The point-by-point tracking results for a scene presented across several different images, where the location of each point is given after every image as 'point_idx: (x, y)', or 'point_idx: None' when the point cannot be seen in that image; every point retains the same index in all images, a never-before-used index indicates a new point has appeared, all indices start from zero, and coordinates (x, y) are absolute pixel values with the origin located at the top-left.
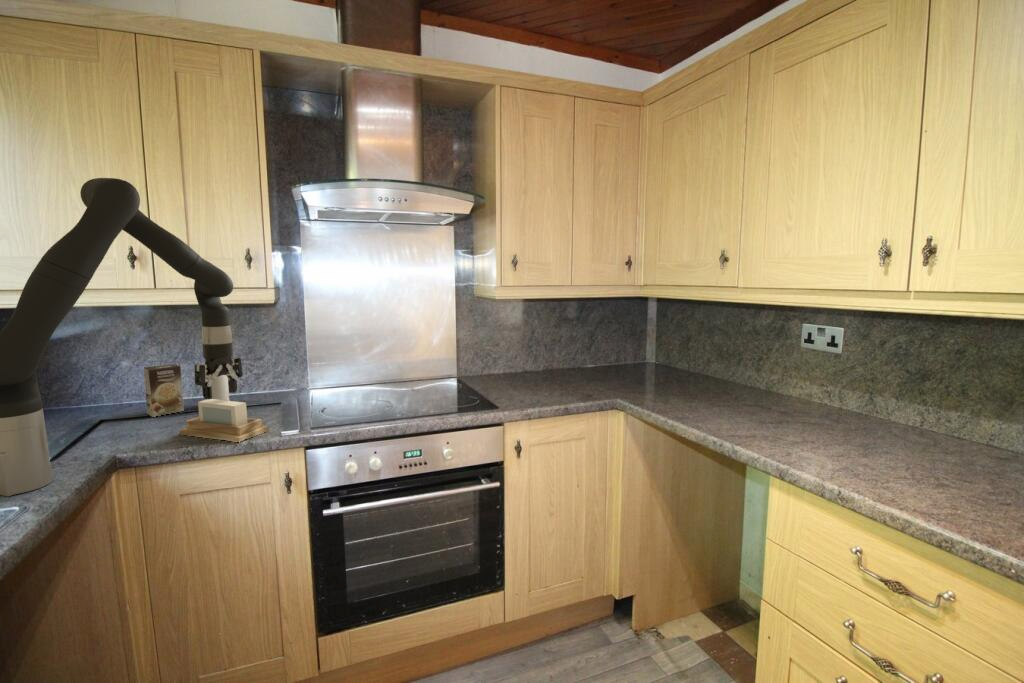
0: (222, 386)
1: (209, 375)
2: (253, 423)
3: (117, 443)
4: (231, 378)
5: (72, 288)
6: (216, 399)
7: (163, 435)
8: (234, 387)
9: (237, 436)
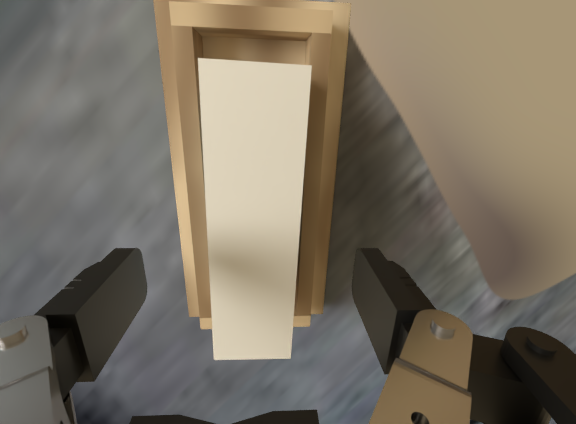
0: None
1: None
2: (233, 7)
3: None
4: (60, 373)
5: None
6: (213, 318)
7: (332, 338)
8: (115, 269)
9: (332, 31)
